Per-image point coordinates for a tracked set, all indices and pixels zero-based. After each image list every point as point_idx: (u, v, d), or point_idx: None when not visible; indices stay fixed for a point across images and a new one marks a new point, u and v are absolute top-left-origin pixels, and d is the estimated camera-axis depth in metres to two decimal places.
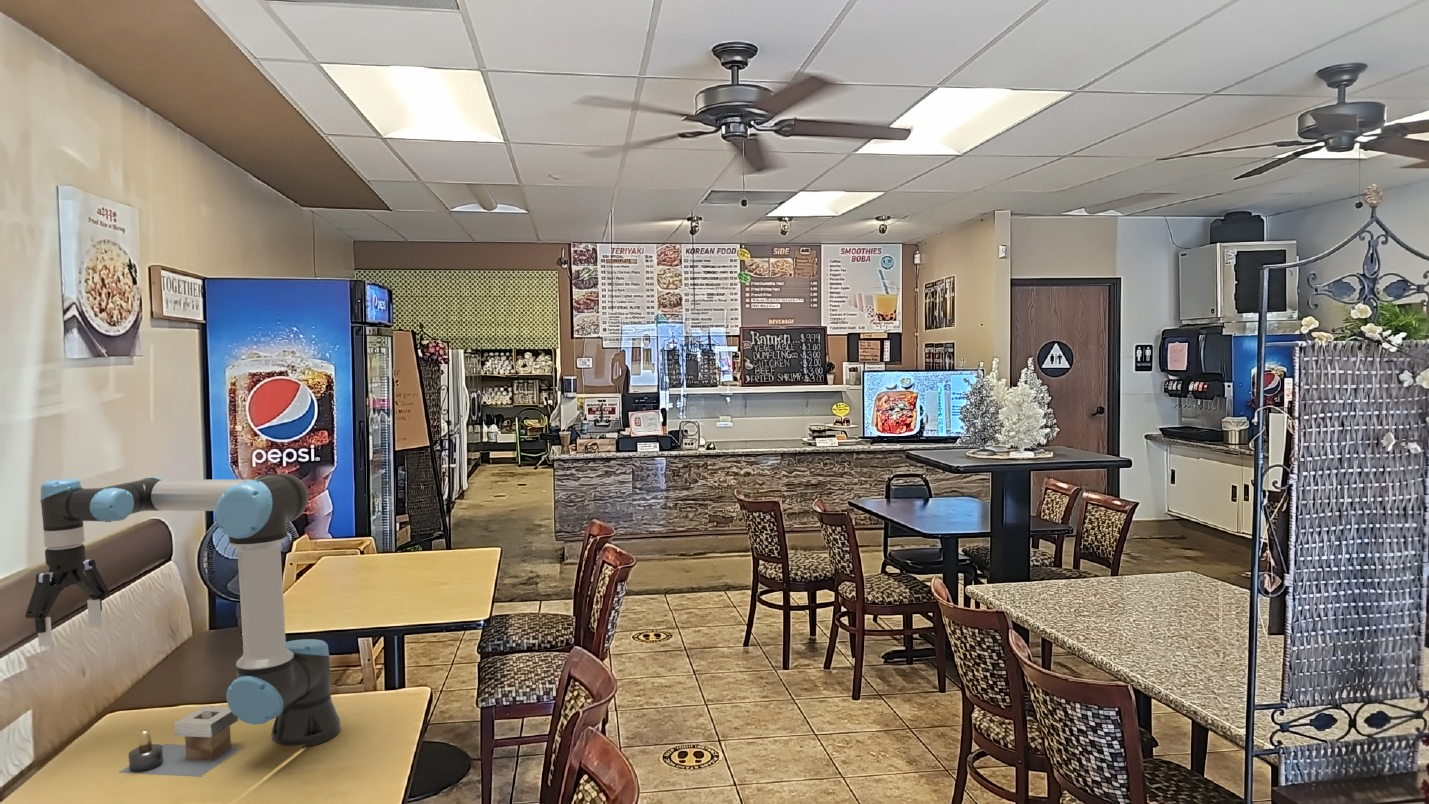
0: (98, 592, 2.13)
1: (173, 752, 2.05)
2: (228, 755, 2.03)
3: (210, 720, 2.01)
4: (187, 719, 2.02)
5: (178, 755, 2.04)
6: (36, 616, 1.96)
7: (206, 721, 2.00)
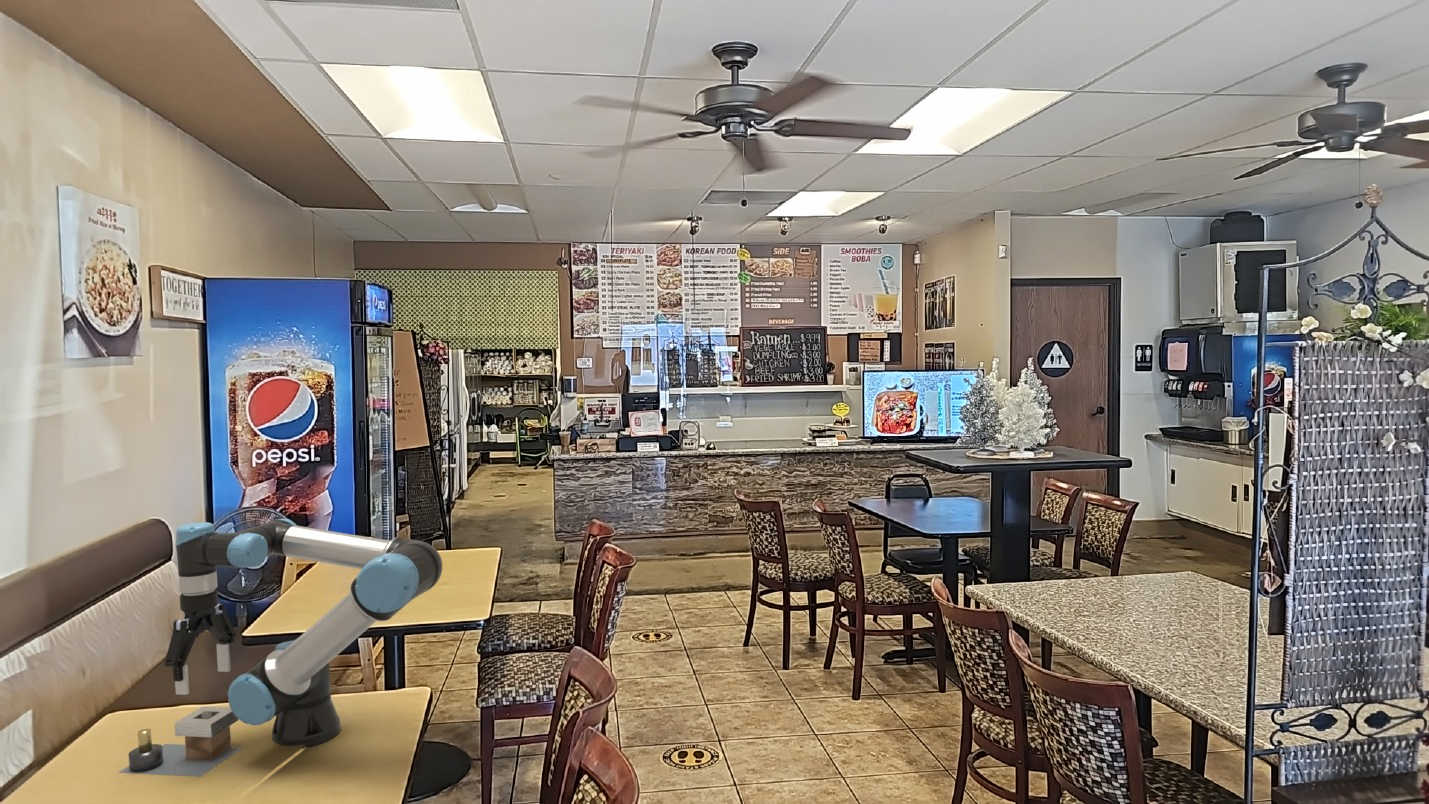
0: (227, 636, 2.10)
1: (173, 752, 2.05)
2: (228, 755, 2.03)
3: (210, 720, 2.01)
4: (187, 719, 2.02)
5: (178, 755, 2.04)
6: (175, 665, 1.93)
7: (206, 721, 2.00)
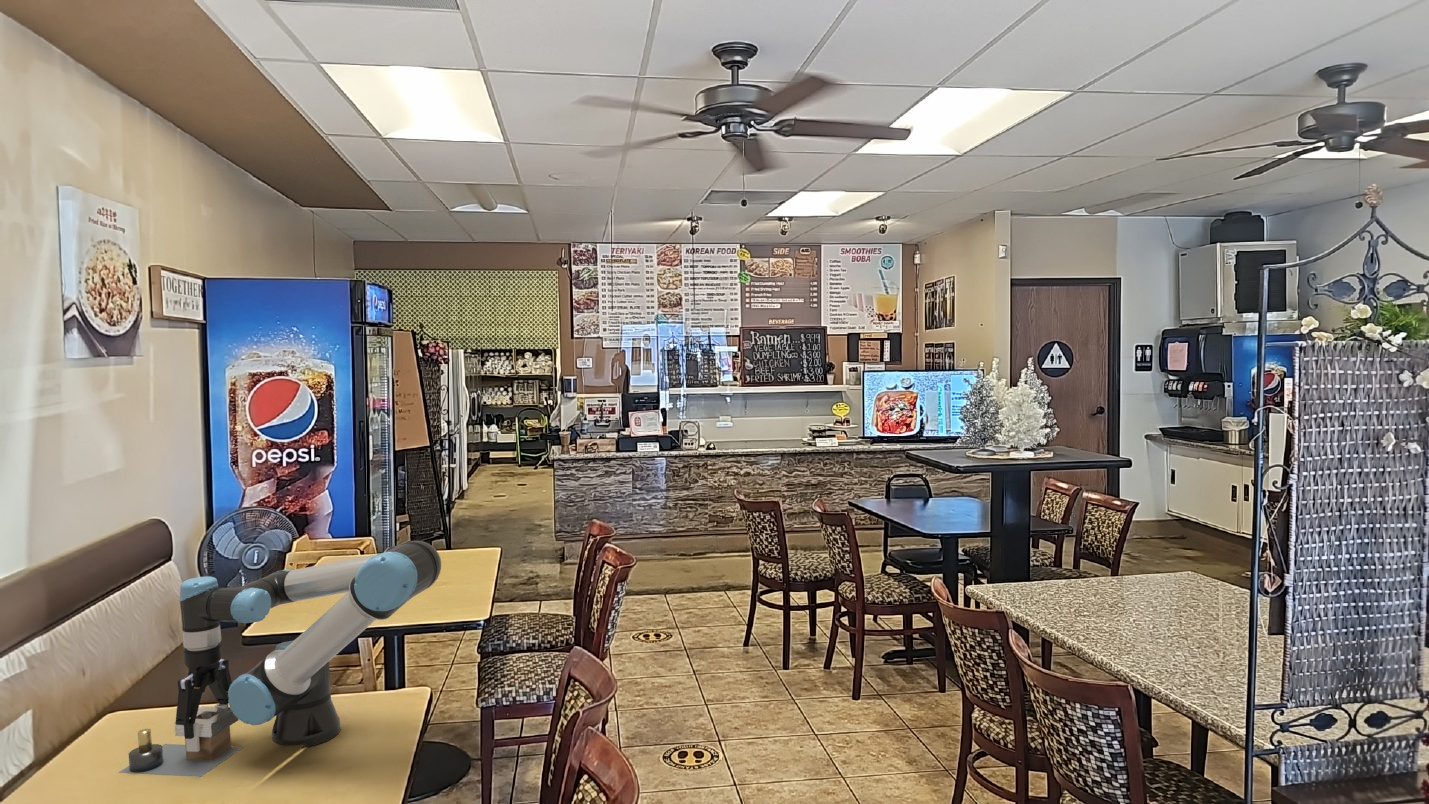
0: (226, 696, 2.09)
1: (173, 752, 2.05)
2: (228, 755, 2.03)
3: (210, 720, 2.01)
4: None
5: (178, 755, 2.04)
6: (186, 723, 1.96)
7: (207, 721, 2.00)
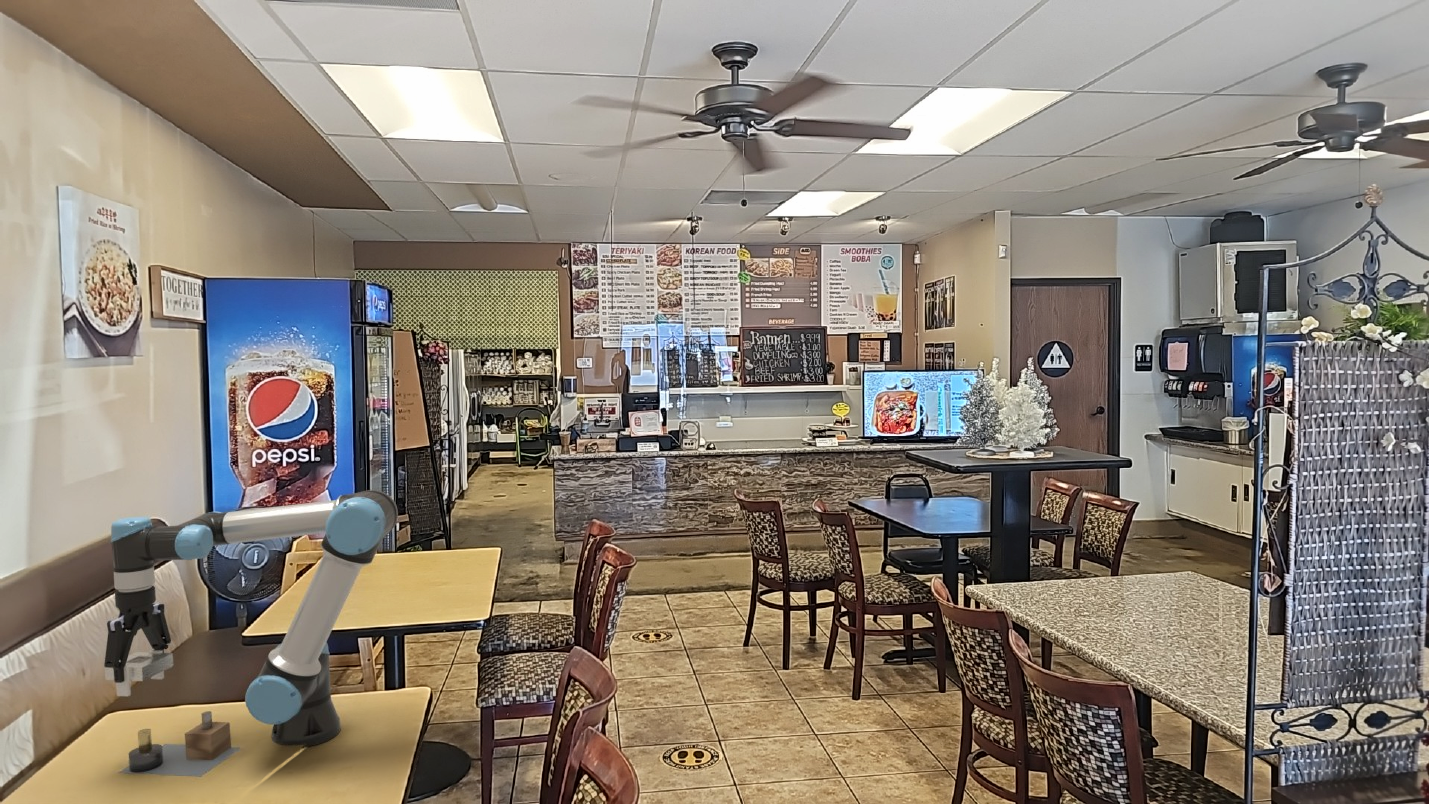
0: (162, 642, 2.02)
1: (173, 752, 2.05)
2: (228, 755, 2.03)
3: (142, 664, 1.94)
4: None
5: (178, 755, 2.04)
6: (116, 666, 1.89)
7: (138, 665, 1.94)
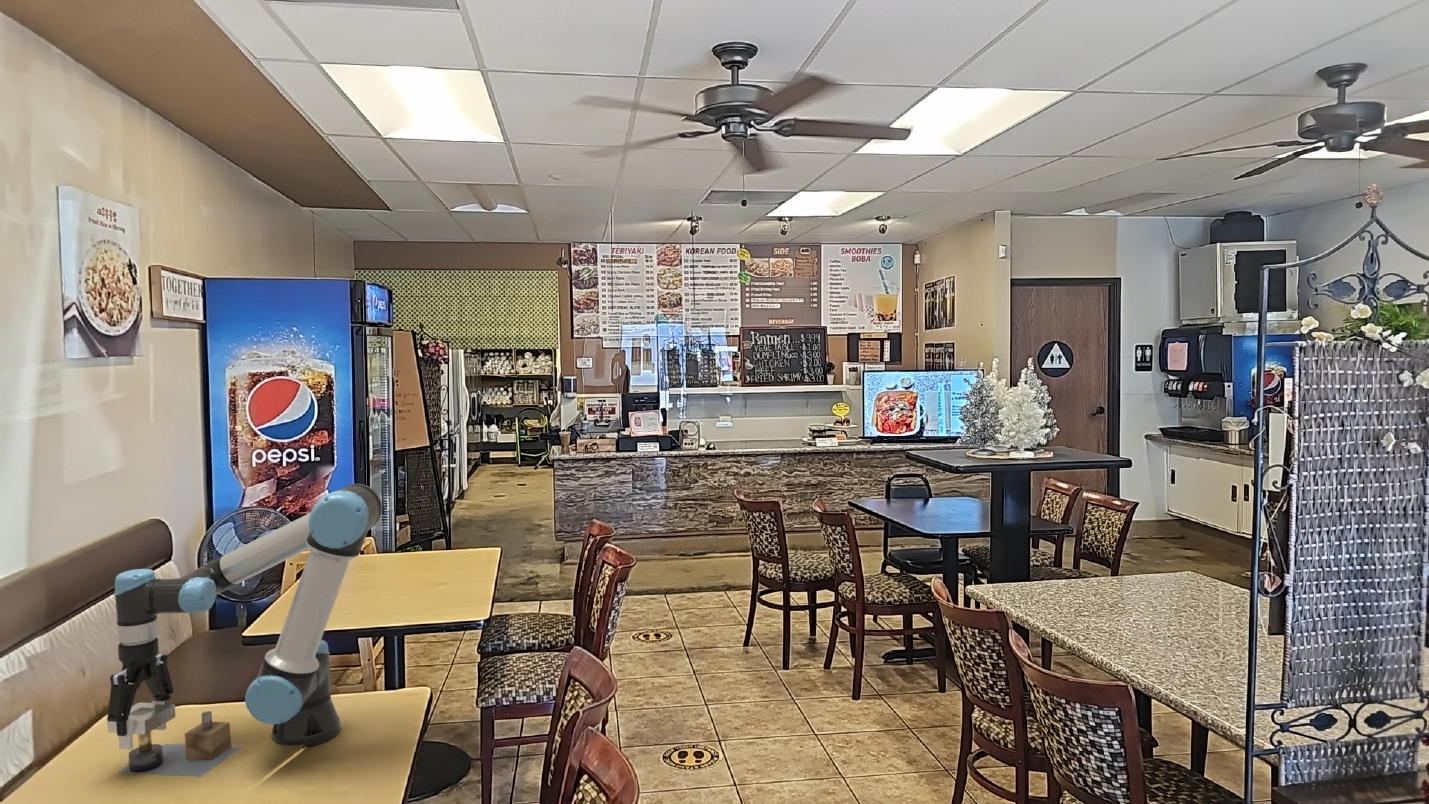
0: (164, 692, 2.03)
1: (173, 752, 2.05)
2: (228, 755, 2.03)
3: (144, 717, 1.95)
4: None
5: (178, 755, 2.04)
6: (118, 720, 1.90)
7: (140, 718, 1.95)
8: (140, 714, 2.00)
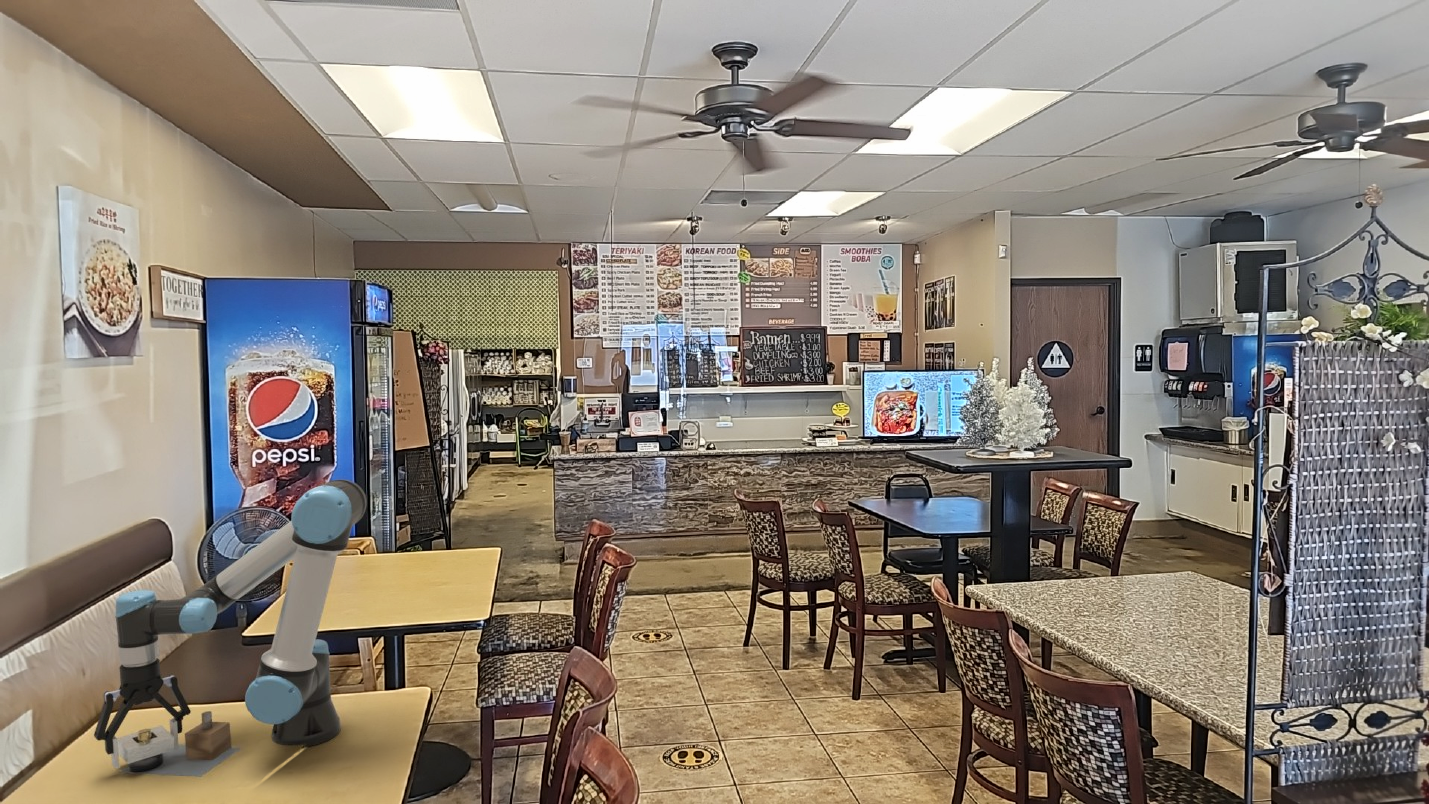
0: (176, 713, 2.02)
1: (173, 752, 2.05)
2: (228, 755, 2.03)
3: (135, 745, 1.95)
4: (127, 737, 1.99)
5: (178, 755, 2.04)
6: (98, 738, 1.91)
7: (131, 745, 1.95)
8: (151, 738, 2.01)
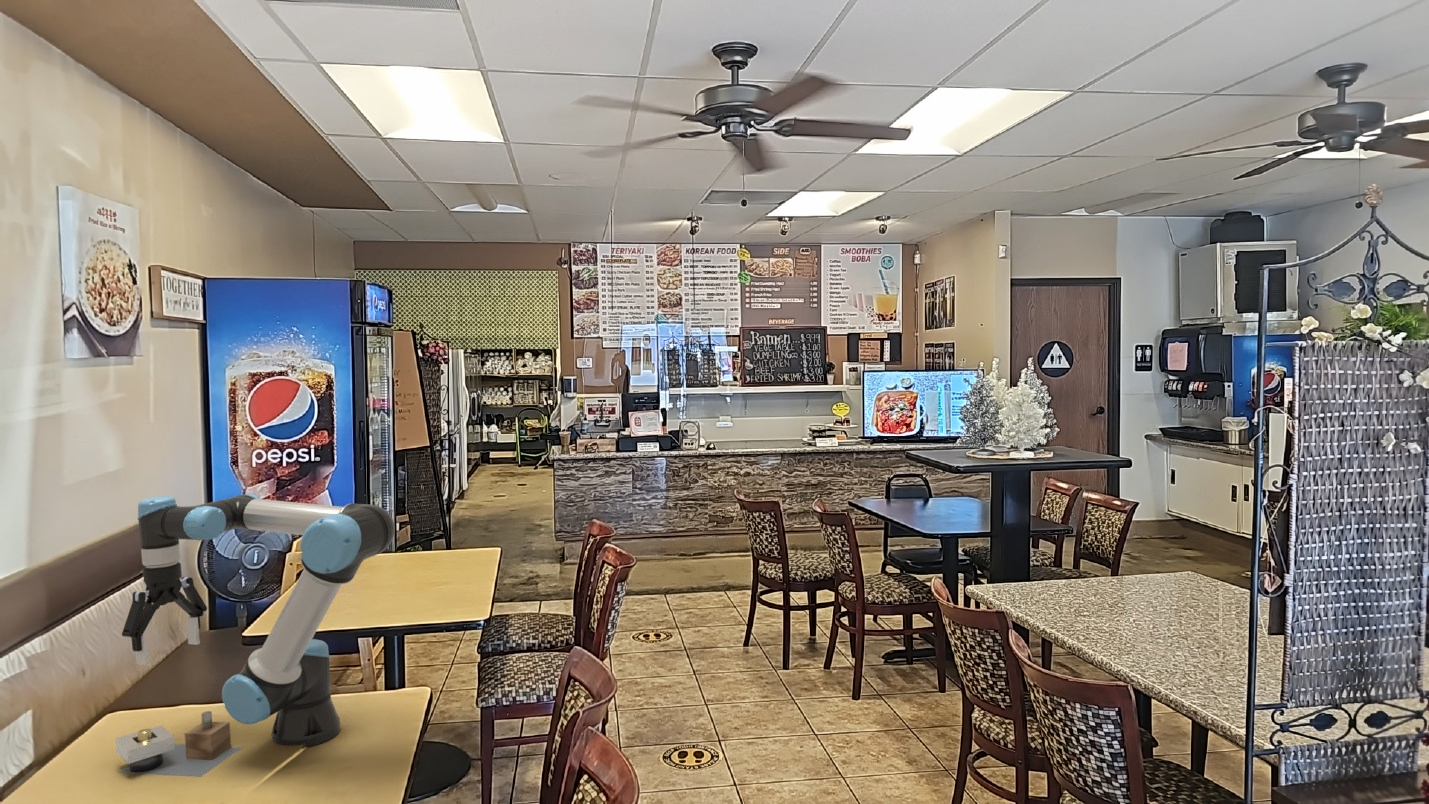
0: (196, 610, 2.13)
1: (173, 752, 2.05)
2: (228, 755, 2.03)
3: (135, 745, 1.95)
4: (127, 737, 1.99)
5: (178, 755, 2.04)
6: (131, 635, 1.97)
7: (131, 745, 1.95)
8: (151, 738, 2.01)
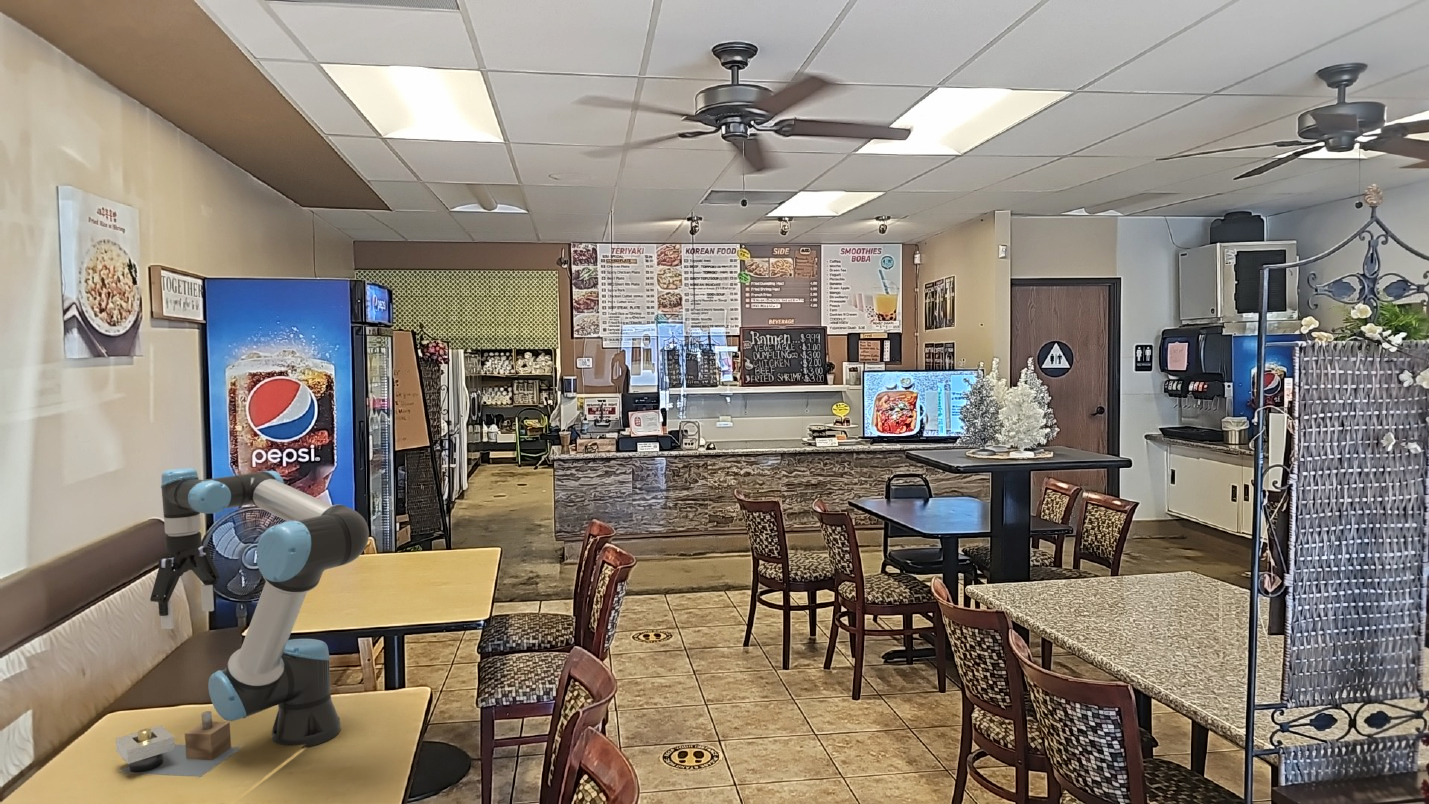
0: (211, 578, 2.21)
1: (173, 752, 2.05)
2: (228, 755, 2.03)
3: (135, 745, 1.95)
4: (127, 737, 1.99)
5: (178, 755, 2.04)
6: (160, 599, 2.05)
7: (131, 745, 1.95)
8: (151, 738, 2.01)
